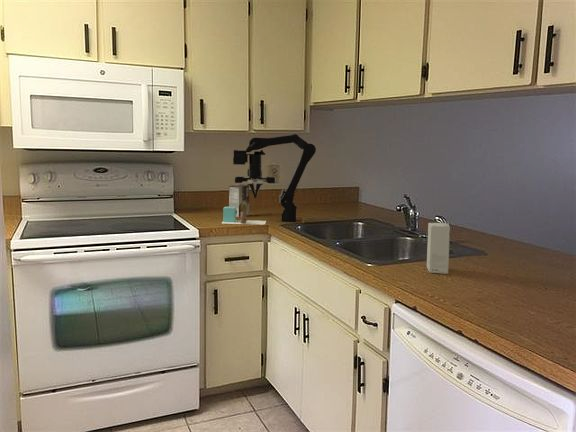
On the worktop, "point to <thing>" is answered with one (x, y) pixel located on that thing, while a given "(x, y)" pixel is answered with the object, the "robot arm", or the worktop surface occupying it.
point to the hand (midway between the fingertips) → (255, 197)
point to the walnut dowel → (243, 217)
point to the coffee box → (239, 198)
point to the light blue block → (229, 214)
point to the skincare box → (438, 247)
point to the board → (246, 222)
